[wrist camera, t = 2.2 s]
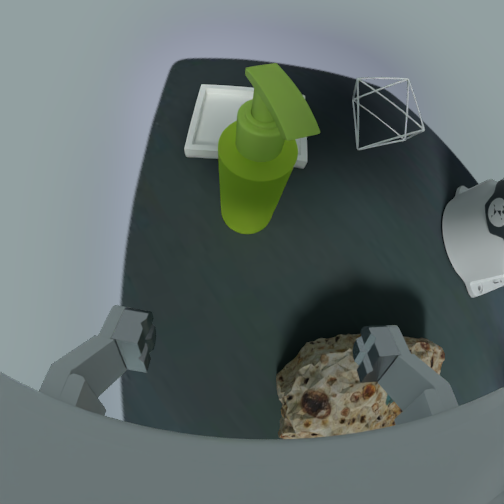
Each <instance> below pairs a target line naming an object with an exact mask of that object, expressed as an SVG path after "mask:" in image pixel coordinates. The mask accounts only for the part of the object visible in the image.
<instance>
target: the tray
mask: <svg viewBox="0 0 504 504" xmlns="http://www.w3.org/2000/svg"><path fill="white" fill-rule="evenodd" d="M253 94H254V88H250V87H240V86H226V85H205V84H202V85H201V88H200V91H199V95H198V98H197V102H196V105H195V109H194V112H193V116H192V120H191V124H190V128H189V131H188V135H187V140H186V144H185V148H184V151H185V155H186V157H197V158H213V159H218V142H219V138H220V136H221V134H222V132H223V131H224V130H225V129H226V128H227V127H228V126H229V125H230V124H232V123H233V122H235V121H237V113H238V110H239V108H240V107H241V105H242V104H244V103H245V102H247V101H249V100H251V99H253ZM303 97H304V99H305V95H303ZM295 140H296V143H297V147H298V157H297V160H296V163H295V165H294V167H295V168H302V169H304V167H305V165H306V164H307V137H303V138H299V139H295Z"/></svg>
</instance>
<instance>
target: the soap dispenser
mask: <svg viewBox="0 0 504 504" xmlns="http://www.w3.org/2000/svg"><path fill="white" fill-rule="evenodd" d="M245 75H246V77H247V78H248V79H249V81H250V82H251V84H252V85H253V87H254V94H253V99H251V100H249V101H247V102H245V103H244V104H242V105H241V107H240V108H239V110H238V113H237V121H235V122H233V123H232V124H230V125H229V126H228V127H227V128H226V129H225V130H224V131H223V132H222V134H221V136H220V138H219V142H218V161H219V181H220V198H221V213H222V217H223V220H224V222H225V223H226V224H227V226H228V227H229V228H231V229H232V230H234V231H236V232H238V233H242V234H253V233H256V232H259V231H261V230H262V229H263V228H265V227H266V226H267V224H268V223H269V221H270V219H271V217H272V215H273V212H274V210H275V208H276V206H277V203H278V201H279V199H280V197H281V194H282V192H283V190H284V188H285V185H286V183H287V181H288V179H289V176H290V174H291V172H292V170H293V167H294V165H295V163H296V160H297V157H298V147H297V143H296V140H295V139H299V138H303V137H308V136H312V135H317V134H320V129H319V127H318V124H317V122H316V120H315V118H314V115H313V113H312V111H311V109H310V107H309V106H308V104H307V102H306V100H305V99H304V97H303V95H302V94H301V92H300V91H299V89H298V88H297V87H296V85H295V84H294V83H293V81H292V80H291V79H290V78H289V77H288V75H287V74H286V73H285V72H284V71H283V70H282V69H281V68H280V66H279V65H278V64H277V63H274V64H266V65H259V66H253V67H247V68H246V71H245Z"/></svg>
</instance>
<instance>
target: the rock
mask: <svg viewBox="0 0 504 504" xmlns="http://www.w3.org/2000/svg"><path fill="white" fill-rule="evenodd" d="M360 336H361V334H353V335H351V334H347V335H342V334H340V335H337V336H336V337H332V338H328V339H326V338H319V339H317V340H315V341H311V342H306V344H305V345H304V346H303V347H302V348H301V350H300V351H299V353H298V355H297V356H296V357H295V358H294V359H293V360H292V361H291V362H289V363H288V364H286V365H285V367H284V368H283V369H282V370H281V371H280V372H279V373H278V374H276V375H277V377H276V382H277V393H278V396H279V400H280V401H281V403H282V408H281V414H282V417H281V419H280V430H279V432H278V435H279V437H280V438H283V439H301V438H315V437H326V436H336V435H344V434H351V433H358V432H364V431H370V430H375V429H380V428H385V427H390V426H394V425H395V421H394V420H395V418H396V417H397V416H398V415H399V414H400V413H401V412H403V411H402V410H401V409H400V408H399V406H398V405H397V404H396V403H395V402H394V401H393V400H392V398H391V397H390V396H389V395H388V394H387V393H386V392H385V390H384V389H383V388H382V387H381V386H380V385H379V384H378V382H365V383H360V380H359V376H358V373H357V368H358V366H359V365H358V364H357V363H356V362H355V361H354V359H353V353H352V350H353V345H354V343H355V341H356V339H358V338H359V337H360ZM403 338H404V340H405V342H406V344H407V346H408V348H409V351H410V353H411V354H414V355H416V356H417V357H418V358H419V359H421V360H422V361H423V362H424V363H425V364H427V365H428V366H429V367H430V368H431V369H433V370H434V371H435V372H436V373H437V374H439V375H440V371H441V365H442V362H443V361H444V359H445V353H444V351H443V349H442V348H441V347H440V346H438V345H437V344H434V343H433V342H431V341H429V340H428V339H425V338H419V339H417V338H410V337H403Z"/></svg>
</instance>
